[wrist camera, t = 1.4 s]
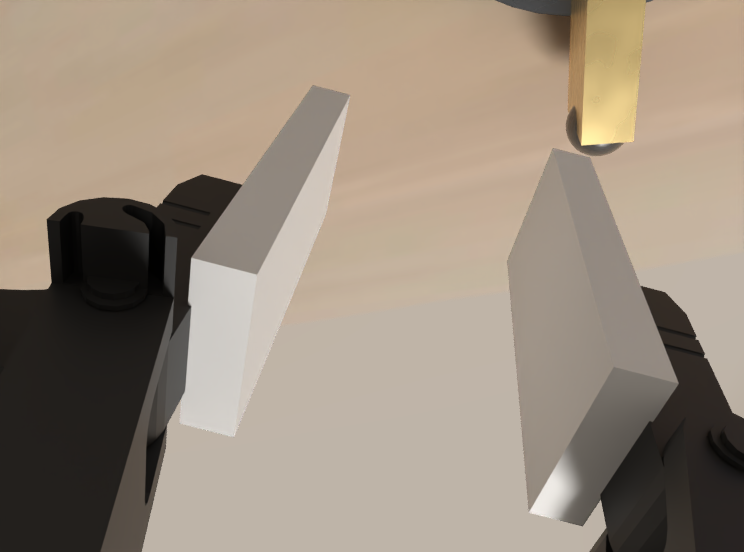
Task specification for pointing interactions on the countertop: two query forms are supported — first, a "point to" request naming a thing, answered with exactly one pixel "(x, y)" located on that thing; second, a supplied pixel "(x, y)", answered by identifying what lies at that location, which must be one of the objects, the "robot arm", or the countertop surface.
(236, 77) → the countertop surface
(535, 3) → the base
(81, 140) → the countertop surface
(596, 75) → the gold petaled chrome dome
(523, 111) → the countertop surface
